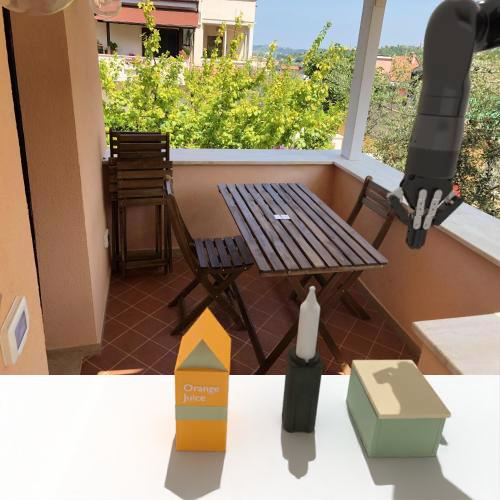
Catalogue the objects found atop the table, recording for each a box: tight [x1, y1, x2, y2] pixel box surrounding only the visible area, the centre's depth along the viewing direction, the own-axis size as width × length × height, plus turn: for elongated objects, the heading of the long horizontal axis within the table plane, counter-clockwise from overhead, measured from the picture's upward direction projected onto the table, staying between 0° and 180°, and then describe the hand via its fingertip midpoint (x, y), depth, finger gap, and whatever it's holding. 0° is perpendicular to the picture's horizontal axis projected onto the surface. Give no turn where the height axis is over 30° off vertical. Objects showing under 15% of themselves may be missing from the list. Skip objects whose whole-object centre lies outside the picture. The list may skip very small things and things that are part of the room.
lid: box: [351, 359, 452, 419], centre depth 67 cm, size 13×11×1 cm
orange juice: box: [173, 307, 232, 452], centre depth 65 cm, size 8×9×20 cm
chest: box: [345, 364, 447, 459], centre depth 70 cm, size 13×11×8 cm
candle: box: [281, 285, 324, 434], centre depth 67 cm, size 5×5×25 cm
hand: (413, 247), depth 73 cm, fingers closed
